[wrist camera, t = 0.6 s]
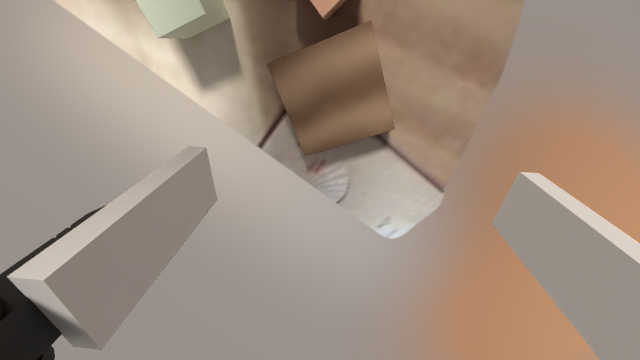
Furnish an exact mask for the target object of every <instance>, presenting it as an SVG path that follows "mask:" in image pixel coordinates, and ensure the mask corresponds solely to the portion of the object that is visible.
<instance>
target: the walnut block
mask: <svg viewBox="0 0 640 360" xmlns="http://www.w3.org/2000/svg"><path fill="white" fill-rule="evenodd" d="M267 66H268V69H269V71H270V73H271V76H272V78H273V81H274V83H275V85H276V88H277V90H278V92H279V95H280V97H281V100H282V102H283V104H284V107H285V109H286V111H287V114H288V116H289V118H290V121H291V123H292V126H293V128H294V130H295V133H296V135H297V137H298V140H299V142H300V144H301V147H302V149H303V152H304V154H305V156H308V155H312V154H315V153H318V152H321V151H325V150H328V149H331V148H334V147H338V146H341V145H344V144H348V143H351V142H354V141H357V140H361V139H364V138H367V137H371V136H374V135H377V134H380V133H384V132H387V131H390V130H394V129H395V127H394V122H393V118H392V113H391V109H390V104H389V100H388V95H387V91H386V86H385V82H384V77H383V73H382V68H381V64H380V59H379V55H378V50H377V46H376V41H375V37H374V32H373V28H372V23H371V20H370V21H368V22H365V23H363V24H361V25H358V26H356V27H354V28H351V29H349V30H346V31H344V32H342V33H339V34H337V35H335V36H332V37H330V38H327V39H325V40H323V41H320V42H318V43H316V44H313V45H311V46H308V47H306V48H304V49H301V50H299V51H297V52H294V53H292V54H290V55H287V56H285V57H282V58H280V59H278V60H275V61H273V62H271V63H268V64H267Z"/></svg>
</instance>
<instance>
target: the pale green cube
mask: <svg viewBox="0 0 640 360" xmlns="http://www.w3.org/2000/svg"><path fill="white" fill-rule="evenodd" d="M136 2H137V4H138V5H139V7H140V9H141V10H142V12H143V14H144V15H145V17H146V19H147V21H148V22H149V24H150V26H151V27H152V29H153V31H154V32H155V34H156V36H157V38H191V37H193V36H195V35H197V34H199V33H201V32H203V31H205V30H207V29H210V28H212V27H214V26H216V25H218V24H220V23H222V22H224V21H226V20H228V19H230V17H229V14H228V12H227V10H226V8H225V6H224V3H223V1H222V0H136Z"/></svg>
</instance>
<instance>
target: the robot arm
mask: <svg viewBox="0 0 640 360" xmlns="http://www.w3.org/2000/svg"><path fill="white" fill-rule="evenodd" d="M216 200H217V197H216V192H215V187H214V183H213V178H212V174H211V168H210V164H209V159H208V154H207V150H206V148H204V147H191V146H189V147H187V148H186V149H185V150H183V151H182V152H180V153H179V154H178V155H176V156H175V157H173V158H172V159H171V160H169V161H168V162H166V163H165V164H164V165H162V166H161V167H159V168H158V169H157V170H155V171H154V172H152V173H151V174H150V175H148V176H147V177H145V178H144V179H143V180H141V181H140V182H138V183H137V184H136V185H134V186H133V187H131V188H130V189H129V190H127V191H126V192H125V193H123V194H122V195H120V196H119V197H117V198H116V199H115V200H113V201H112V202H110V203H109V204H107V205H105V206H103V207H101V208H99V209H97V210H94V211H93V212H90V213H88V214H86V215H85V216H84V217H82V218H81V219H79V220H78V221H76V222H75V223H73V224H72V225H71V227H70V228H66V229H65V230H63V231H62V232H61V233H59V234H58V235H57V237H56V238H52V239H50V240H49V241H48V242H46V243H45V244H43V245H42V246H40V247H39V248H37V249H36V250H35V251H33V252H32V253H30V254H29V255H28V256H26V257H25V258H23V259H22V260H20V261H19V262H17V263H16V264H15V265H13V266H12V267H10V268H9V269H8V270H6V271H5V272H3V273H2V274H0V360H54V358H55V354H54V348H53V347H52V346H51V345H52V344H53V343H54V342H55V340H56V339H57V338H58V337H59V336H60V335H61V334H62V335H63V336H64V337H65V338H66V339H67V341H68V342H69V343H70V344H71V345H72V346H73V347H82V348H91V349H99V350H102V349H103V347H104V346H105V345H106V343H107V342H108V341H109V339H110V338H111V337H112V336H113V334H114V333H115V332H116V330H117V329H118V328H119V326H120V325H121V324H122V322H123V321H124V320H125V319H126V317H127V316H128V315H129V314H130V312H131V311H132V310H133V308H134V307H135V306H136V304H137V303H138V302H139V301H140V299H141V298H142V297H143V295H144V294H145V293H146V291H147V290H148V289H149V287H150V286H151V285H152V284H153V282H154V281H155V280H156V278H157V277H158V276H159V275H160V273H161V272H162V271H163V269H164V268H165V267H166V265H167V264H168V263H169V262H170V260H171V259H172V258H173V256H174V255H175V254H176V252H177V251H178V250H179V249H180V247H181V246H182V244H183V243H184V242H185V241H186V239H187V238H188V237H189V236H190V234H191V233H192V231H193V230H194V229H195V228H196V226H197V225H198V224H199V222H200V221H201V220H202V218H203V217H204V216H205V215H206V213H207V212H208V211H209V210H210V208H211V207H212V206H213V204H214V203H215V202H216ZM492 224H493V226H494V227H495V228H496V229H497V231H498V232H499V233H500V234H501V236H502V237H503V238H504V239H505V241H506V242H507V243H508V244H509V246H510V247H511V248H512V249H513V251H514V252H515V253H516V254H517V256H518V257H519V258H520V259H521V261H522V262H523V263H524V265H525V266H526V267H527V268H528V270H529V271H530V272H531V273H532V275H533V276H534V277H535V278H536V279H537V281H538V282H539V283H540V285H541V286H542V287H543V288H544V289H545V291H546V292H547V293H548V294H549V296H550V297H551V298H552V300H553V301H554V302H555V303H556V305H557V306H558V307H559V308H560V310H561V311H562V312H563V313H564V315H565V316H566V317H567V318H568V320H569V321H570V322H571V323H572V325H573V326H574V327H575V328H576V330H577V331H578V332H579V334H580V335H581V336H582V337H583V339H584V340H585V341H586V342H587V344H588V345H589V346H590V347H591V349H592V350H593V351H594V352H595V354H596V355H597V356H598V357H599V359H600V360H640V244H639V243H638V242H637V241H635V240H634V239H632V238H631V237H630V236H628V235H627V234H625V233H624V232H622V231H621V230H619V229H618V228H617V227H615V226H614V225H612V224H611V223H609V222H608V221H607V220H605V219H604V218H602V217H601V216H599V215H598V214H596V213H595V212H594V211H592V210H591V209H589V208H588V207H587V206H585V205H584V204H582V203H581V202H579V201H578V200H577V199H575V198H574V197H572V196H571V195H569V194H568V193H566V192H565V191H564V190H562V189H561V188H559V187H558V186H557V185H555V184H554V183H552V182H551V181H549V180H548V179H546V178H545V177H544V176H542V175H541V174H539V173H526V172H519V174H518V176H517V178H516V180H515V182H514V183H513V185H512V187H511V189H510V191H509V193H508V195H507V197H506V198H505V200H504V202H503V204H502V206H501V208H500V210H499V211H498V213H497V215H496V217H495V219H494V221H493V223H492Z"/></svg>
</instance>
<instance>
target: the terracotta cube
mask: <svg viewBox="0 0 640 360" xmlns="http://www.w3.org/2000/svg"><path fill="white" fill-rule="evenodd" d="M310 1H311V2H312V4H313V5H314V6H315V8H316V9H317V11H318V12H319V14H320V15H321V17H322V18H323V19H324V20H325V21H326V20H327V19H328V18H329V17H330V16H331V15H332V14H333V13H334V12H335V11H336V10H337V9H338V8H339V7H340V6H341V5H342V4H343V3H344V2H345V1H346V0H310Z"/></svg>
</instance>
